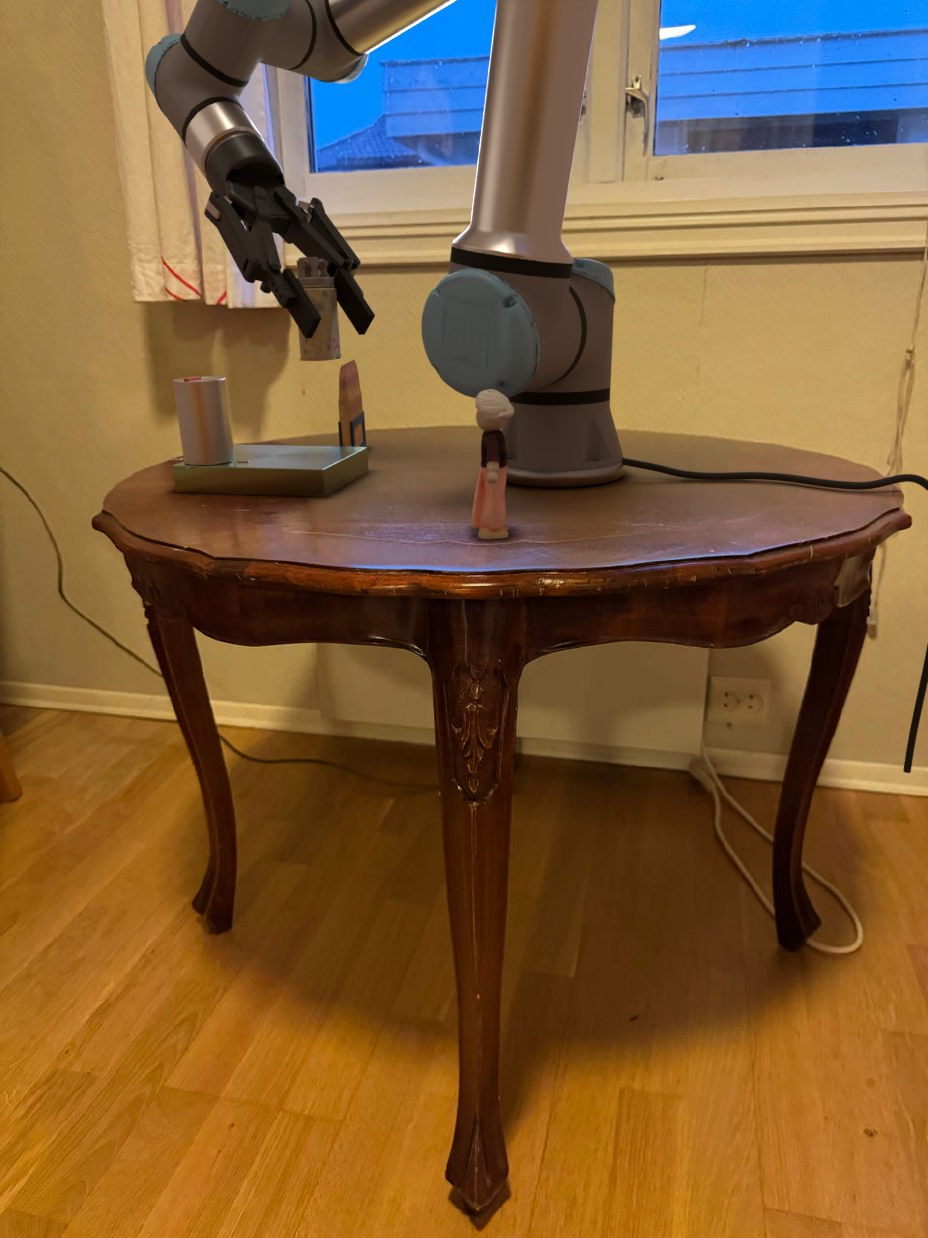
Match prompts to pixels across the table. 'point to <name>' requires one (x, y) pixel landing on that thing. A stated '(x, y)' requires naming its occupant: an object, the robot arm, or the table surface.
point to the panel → (276, 471)
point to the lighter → (319, 311)
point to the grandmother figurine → (491, 466)
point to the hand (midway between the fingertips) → (340, 326)
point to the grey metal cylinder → (204, 420)
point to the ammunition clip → (350, 408)
